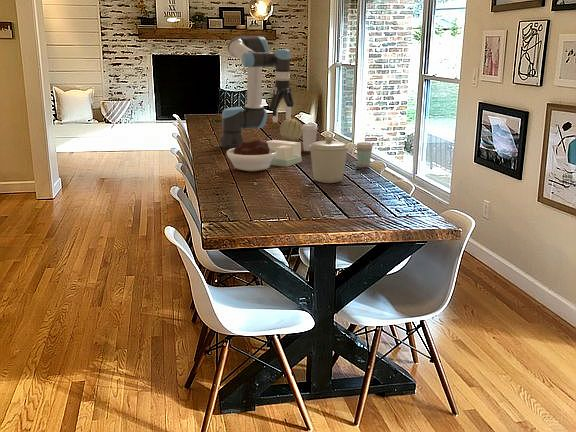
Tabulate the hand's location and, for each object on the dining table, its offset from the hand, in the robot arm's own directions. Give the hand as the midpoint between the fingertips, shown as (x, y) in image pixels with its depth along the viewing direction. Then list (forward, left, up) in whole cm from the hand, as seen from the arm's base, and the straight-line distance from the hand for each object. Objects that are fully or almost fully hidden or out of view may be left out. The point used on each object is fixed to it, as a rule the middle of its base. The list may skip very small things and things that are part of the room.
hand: (281, 120), depth 334 cm
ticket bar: (-5, +10, -21) cm, 24 cm away
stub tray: (+6, -7, -21) cm, 23 cm away
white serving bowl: (+1, -31, -22) cm, 38 cm away
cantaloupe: (-28, +59, -22) cm, 69 cm away
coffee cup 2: (+45, +7, -22) cm, 50 cm away
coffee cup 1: (-2, +35, -22) cm, 41 cm away
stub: (+5, -7, -21) cm, 22 cm away
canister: (+45, -34, -22) cm, 60 cm away
